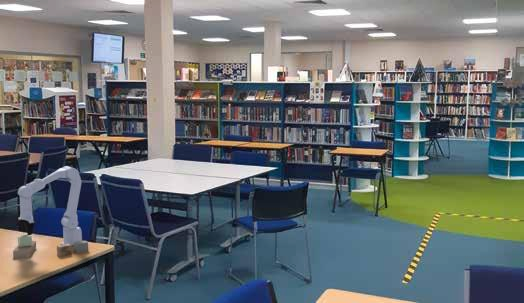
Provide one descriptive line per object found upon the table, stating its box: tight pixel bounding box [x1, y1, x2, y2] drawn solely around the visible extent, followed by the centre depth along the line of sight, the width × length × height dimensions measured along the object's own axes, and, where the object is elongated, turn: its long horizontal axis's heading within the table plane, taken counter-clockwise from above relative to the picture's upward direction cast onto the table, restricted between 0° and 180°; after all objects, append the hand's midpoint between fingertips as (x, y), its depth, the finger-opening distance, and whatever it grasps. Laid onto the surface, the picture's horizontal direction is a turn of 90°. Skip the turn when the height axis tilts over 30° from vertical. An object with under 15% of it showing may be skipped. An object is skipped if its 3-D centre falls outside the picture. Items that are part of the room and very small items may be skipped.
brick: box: [12, 240, 37, 259], centre depth 275 cm, size 17×8×5 cm, turn 12°
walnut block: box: [56, 243, 72, 257], centre depth 273 cm, size 6×4×5 cm, turn 133°
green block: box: [17, 234, 33, 247], centre depth 274 cm, size 6×4×5 cm, turn 129°
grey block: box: [73, 240, 89, 254], centre depth 278 cm, size 6×4×5 cm, turn 133°
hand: (27, 233), depth 275 cm, fingers open, 7 cm apart
